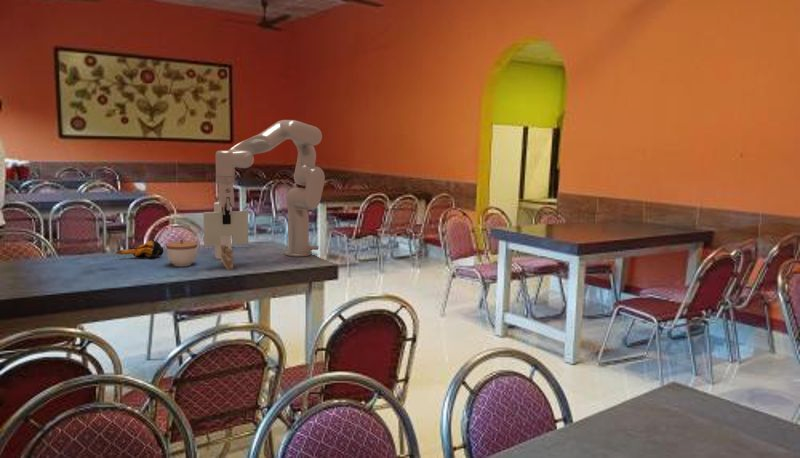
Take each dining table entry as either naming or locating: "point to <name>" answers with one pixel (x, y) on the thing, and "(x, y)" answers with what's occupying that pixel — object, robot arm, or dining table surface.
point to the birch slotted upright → (227, 257)
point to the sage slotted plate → (225, 228)
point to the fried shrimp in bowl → (145, 250)
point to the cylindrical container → (224, 239)
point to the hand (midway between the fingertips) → (226, 223)
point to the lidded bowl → (181, 252)
